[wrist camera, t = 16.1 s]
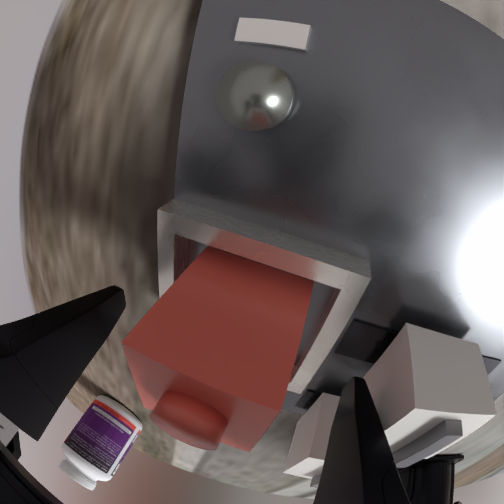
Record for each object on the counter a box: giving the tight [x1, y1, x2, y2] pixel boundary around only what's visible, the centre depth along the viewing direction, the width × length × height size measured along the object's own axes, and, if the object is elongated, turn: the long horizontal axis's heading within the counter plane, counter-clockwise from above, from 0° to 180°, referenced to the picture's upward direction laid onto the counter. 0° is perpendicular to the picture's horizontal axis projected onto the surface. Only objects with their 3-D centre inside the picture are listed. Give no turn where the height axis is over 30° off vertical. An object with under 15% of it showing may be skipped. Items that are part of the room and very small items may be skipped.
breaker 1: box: [282, 392, 340, 488], centre depth 10 cm, size 4×4×4 cm
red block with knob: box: [122, 246, 314, 452], centre depth 8 cm, size 4×4×6 cm
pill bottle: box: [59, 395, 142, 490], centre depth 25 cm, size 8×8×14 cm
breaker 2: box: [363, 323, 496, 468], centre depth 7 cm, size 4×4×4 cm
